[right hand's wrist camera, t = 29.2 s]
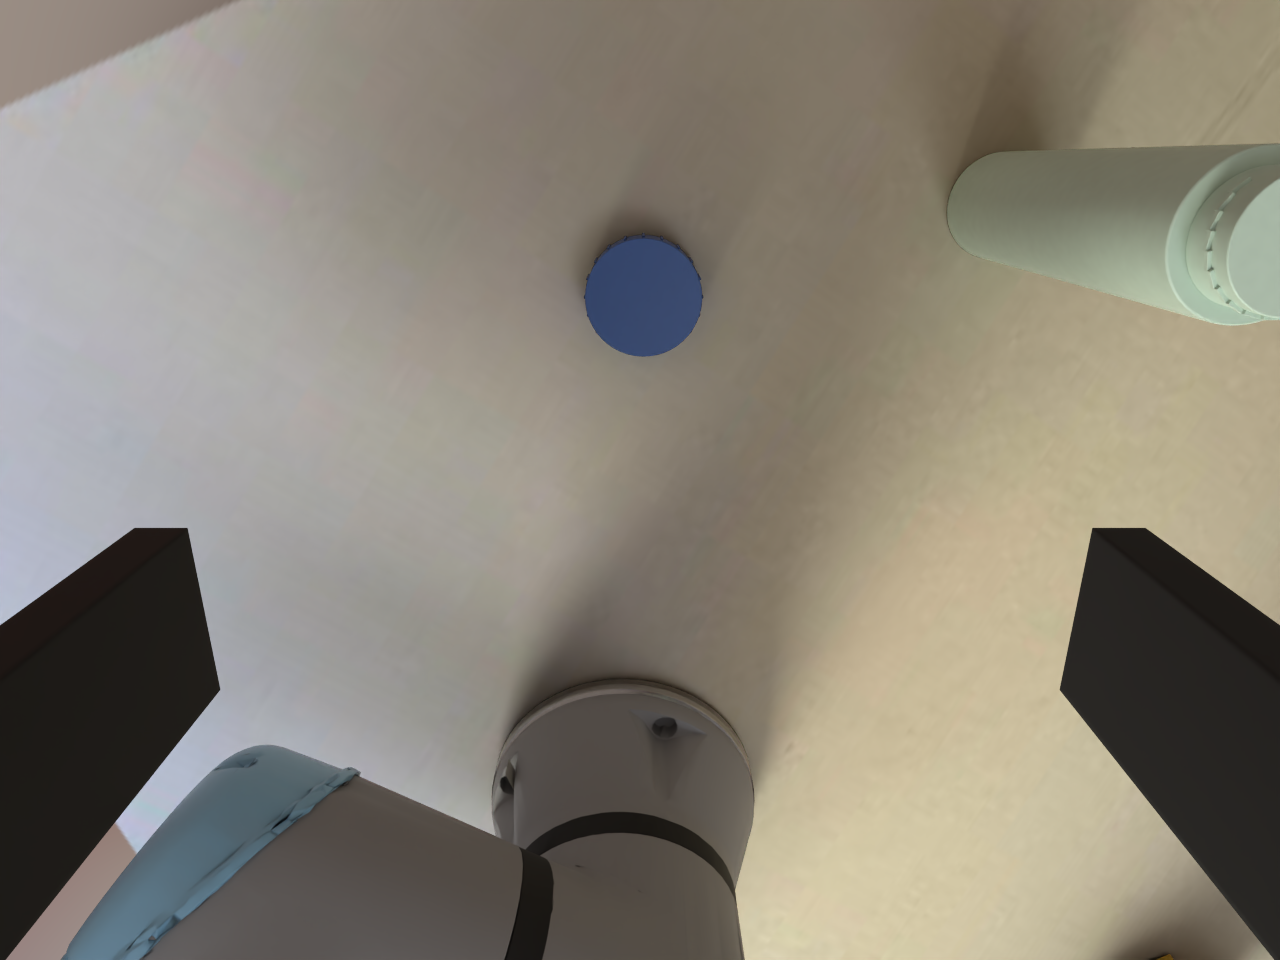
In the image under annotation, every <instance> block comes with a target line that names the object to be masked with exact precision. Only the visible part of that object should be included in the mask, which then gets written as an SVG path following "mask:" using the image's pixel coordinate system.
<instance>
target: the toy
mask: <svg viewBox="0 0 1280 960" xmlns="http://www.w3.org/2000/svg"><path fill="white" fill-rule="evenodd" d="M1156 960H1174V959H1173V958H1172V956H1171V955H1170V954H1168V955H1166V956H1164V957H1161V958H1159V959H1156Z"/></svg>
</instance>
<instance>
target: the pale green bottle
mask: <svg viewBox="0 0 1280 960" xmlns="http://www.w3.org/2000/svg"><path fill="white" fill-rule="evenodd" d="M947 220H948V225H949V229H950V231H951V234H952V236H953V238H954V239H955V241H956V242H957V244H958V245H959V246H960V247H961V248H962V249H964V250H965V251H966V252H968V253H970V254H971V255H974V256H976V257H979V258H983V259H986V260H990V261H994V262H997V263H1001V264H1004V265H1008V266H1011V267H1015V268H1018V269H1022V270H1025V271H1029V272H1033V273H1036V274H1040V275H1043V276H1047V277H1050V278H1054V279H1057V280H1061V281H1065V282H1068V283H1072V284H1075V285H1079V286H1082V287H1086V288H1089V289H1093V290H1097V291H1100V292H1104V293H1107V294H1111V295H1114V296H1118V297H1121V298H1125V299H1129V300H1132V301H1136V302H1139V303H1143V304H1146V305H1150V306H1153V307H1157V308H1160V309H1164V310H1168V311H1171V312H1175V313H1178V314H1182V315H1185V316H1189V317H1192V318H1196V319H1200V320H1203V321H1207V322H1210V323H1215V324H1219V325H1230V326H1235V325H1246V324H1251V323H1256V322H1259V321H1262V320H1280V144H1243V145H1208V146H1174V147H1139V148H1105V149H1070V150H1036V151H1004V152H996V153H992V154H989V155H986V156H984V157H982V158H980V159H978V160H977V161H975V162H974V163H972V164H971V165H970V166H969V167H968V168H967V169H966V170H965V171H964V172H963V173H962V174H961V175H960V177H959V178H958V179H957V181H956V183H955V184H954V186H953V189H952V191H951V194H950V197H949V201H948V206H947Z"/></svg>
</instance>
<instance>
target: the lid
mask: <svg viewBox="0 0 1280 960" xmlns="http://www.w3.org/2000/svg"><path fill="white" fill-rule="evenodd" d="M594 263H595V264H594V266H593V268H592V271H591V273H590V274H588V276H587V279H586V280H588V281H587V285H586V292H585V295H584V299H585V303H586V309H587V316H588V317H589V320H590V322H591V324H592V326H593V328H594V329H595V331H596V333H597V334H598V335H599V336H600V337H601V338H602V339H603V340H604V341H605V342H606V343H607V344H608V345H610V346H611V347H613V348H614V349H616V350H618V351H620V352H623V353H626V354H629V355H633V356H654V355H658V354H662V353H665V352H667V351H669V350H671V349H673V348H674V347H676V346H677V345H679V344H680V343H681V342H682V341H684V339H685V338H686V337H687V336H688V335H689V334H690V333H691V332H692V330H693V328H694V326H695V324H696V323H697V320H698V317H700V311H701V305H702V298H703V295H702V290H701V284H700V280H701V278H700V276H699V274H697V272H696V270H695V268H694V266H693V264H692V263H693V261H692V259H691V258H688V257H687V255H686V254H685V253H684V252H683V251H682V250H681V249H680V247H679V245H678V244H677V245H675V244H673V243H672V242H670V241H668V240H666V239H663V236H660V237H657V236H652V235H645V233H642V235H635V236H630V237H627V236H624V239H621V240H619V241H617V242H615V243H614V244H612V245H610V244H609V245H608V247H607V249H606V250H605V251H604V252H603V253H602V254H601V255H600V257H599V258H596V259H595V261H594Z"/></svg>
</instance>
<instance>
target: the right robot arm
mask: <svg viewBox="0 0 1280 960" xmlns="http://www.w3.org/2000/svg"><path fill="white" fill-rule="evenodd" d="M219 691H220V686H219V681H218V676H217V671H216V666H215V661H214V656H213V652H212V647H211V642H210V637H209V632H208V627H207V622H206V617H205V612H204V607H203V602H202V597H201V592H200V587H199V583H198V578H197V573H196V568H195V563H194V558H193V553H192V548H191V543H190V538H189V533H188V528H134V529H133V530H131V531H130V532H128V533H127V534H126V535H124V536H123V537H122V538H120V539H119V540H117V541H116V542H115V543H113V544H112V545H111V546H109V547H108V548H106V549H105V550H104V551H102V552H101V553H100V554H98V555H97V556H95V557H94V558H93V559H91V560H90V561H88V562H87V563H86V564H84V565H83V566H82V567H80V568H79V569H77V570H76V571H75V572H73V573H72V574H71V575H69V576H68V577H66V578H65V579H64V580H62V581H61V582H59V583H58V584H57V585H55V586H54V587H53V588H51V589H50V590H48V591H47V592H46V593H44V594H43V595H42V596H40V597H39V598H37V599H36V600H35V601H33V602H32V603H30V604H29V605H28V606H26V607H25V608H24V609H22V610H21V611H19V612H18V613H17V614H15V615H14V616H13V617H11V618H10V619H8V620H7V621H6V622H4V623H3V624H1V625H0V960H6V959H7V957H8V956H9V955H10V954H11V952H12V951H13V950H14V948H15V947H16V946H17V945H18V943H19V942H20V941H21V940H22V938H23V937H24V936H25V935H26V933H27V932H28V931H29V930H30V928H31V927H32V926H33V925H34V923H35V922H36V921H37V919H38V918H39V917H40V916H41V915H42V913H43V912H44V911H45V909H46V908H47V907H48V906H49V904H50V903H51V902H52V901H53V899H54V898H55V897H56V896H57V894H58V893H59V892H60V891H61V889H62V888H63V887H64V886H65V884H66V883H67V882H68V881H69V879H70V878H71V877H72V876H73V874H74V873H75V872H76V871H77V869H78V868H79V867H80V865H81V864H82V863H83V862H84V860H85V859H86V858H87V857H88V855H89V854H90V853H91V852H92V850H93V849H94V848H95V847H96V845H97V844H98V843H99V842H100V840H101V839H102V838H103V837H104V835H105V834H106V833H107V832H108V830H109V829H110V828H111V826H112V825H113V824H114V823H115V821H116V820H117V819H118V818H119V816H120V815H121V814H122V813H123V811H124V810H125V809H126V808H127V806H128V805H129V804H130V803H131V801H132V800H133V799H134V798H135V796H136V795H137V794H138V793H139V791H140V790H141V789H142V788H143V786H144V785H145V784H146V782H147V781H148V780H149V779H150V777H151V776H152V775H153V774H154V772H155V771H156V770H157V769H158V767H159V766H160V765H161V764H162V762H163V761H164V760H165V759H166V757H167V756H168V755H169V754H170V752H171V751H172V750H173V749H174V747H175V746H176V745H177V744H178V742H179V741H180V740H181V738H182V737H183V736H184V735H185V733H186V732H187V731H188V730H189V728H190V727H191V726H192V725H193V723H194V722H195V721H196V720H197V718H198V717H199V716H200V715H201V713H202V712H203V711H204V710H205V708H206V707H207V706H208V705H209V703H210V702H211V701H212V700H213V698H214V697H215V696H216V694H217V693H218V692H219ZM1060 691H1061V692H1062V693H1063V694H1064V696H1065V697H1066V698H1067V700H1068V701H1069V702H1070V703H1071V705H1072V706H1073V707H1074V708H1075V710H1076V711H1077V712H1078V713H1079V715H1080V716H1081V717H1082V718H1083V720H1084V721H1085V722H1086V723H1087V725H1088V726H1089V727H1090V728H1091V730H1092V731H1093V732H1094V733H1095V735H1096V736H1097V737H1098V738H1099V740H1100V741H1101V742H1102V744H1103V745H1104V746H1105V747H1106V749H1107V750H1108V751H1109V752H1110V754H1111V755H1112V756H1113V757H1114V759H1115V760H1116V761H1117V762H1118V764H1119V765H1120V766H1121V767H1122V769H1123V770H1124V771H1125V772H1126V774H1127V775H1128V776H1129V777H1130V779H1131V780H1132V781H1133V782H1134V784H1135V785H1136V786H1137V788H1138V789H1139V790H1140V791H1141V793H1142V794H1143V795H1144V796H1145V798H1146V799H1147V800H1148V801H1149V803H1150V804H1151V805H1152V806H1153V808H1154V809H1155V810H1156V811H1157V813H1158V814H1159V815H1160V816H1161V818H1162V819H1163V820H1164V821H1165V823H1166V824H1167V825H1168V827H1169V828H1170V829H1171V830H1172V832H1173V833H1174V834H1175V835H1176V837H1177V838H1178V839H1179V840H1180V842H1181V843H1182V844H1183V845H1184V847H1185V848H1186V849H1187V850H1188V852H1189V853H1190V854H1191V855H1192V857H1193V858H1194V859H1195V860H1196V862H1197V863H1198V864H1199V865H1200V867H1201V868H1202V869H1203V871H1204V872H1205V873H1206V874H1207V876H1208V877H1209V878H1210V879H1211V881H1212V882H1213V883H1214V884H1215V886H1216V887H1217V888H1218V889H1219V891H1220V892H1221V893H1222V894H1223V896H1224V897H1225V898H1226V899H1227V901H1228V902H1229V903H1230V904H1231V906H1232V907H1233V908H1234V909H1235V911H1236V912H1237V913H1238V915H1239V916H1240V917H1241V918H1242V920H1243V921H1244V922H1245V923H1246V925H1247V926H1248V927H1249V928H1250V930H1251V931H1252V932H1253V933H1254V935H1255V936H1256V937H1257V938H1258V940H1259V941H1260V942H1261V943H1262V945H1263V946H1264V947H1265V948H1266V950H1267V951H1268V952H1269V954H1270V955H1271V956H1272V957H1273V959H1274V960H1280V625H1279V624H1277V623H1276V622H1274V621H1273V620H1272V619H1270V618H1269V617H1267V616H1266V615H1265V614H1263V613H1262V612H1261V611H1259V610H1258V609H1256V608H1255V607H1254V606H1252V605H1251V604H1250V603H1248V602H1247V601H1245V600H1244V599H1243V598H1241V597H1240V596H1238V595H1237V594H1236V593H1234V592H1233V591H1232V590H1230V589H1229V588H1227V587H1226V586H1225V585H1223V584H1222V583H1221V582H1219V581H1218V580H1216V579H1215V578H1214V577H1212V576H1211V575H1209V574H1208V573H1207V572H1205V571H1204V570H1203V569H1201V568H1200V567H1198V566H1197V565H1196V564H1194V563H1193V562H1192V561H1190V560H1189V559H1187V558H1186V557H1185V556H1183V555H1182V554H1180V553H1179V552H1178V551H1176V550H1175V549H1174V548H1172V547H1171V546H1169V545H1168V544H1167V543H1165V542H1164V541H1163V540H1161V539H1160V538H1158V537H1157V536H1156V535H1154V534H1153V533H1152V532H1150V531H1149V530H1147V529H1146V528H1092V533H1091V538H1090V543H1089V548H1088V553H1087V558H1086V563H1085V568H1084V573H1083V578H1082V583H1081V587H1080V592H1079V597H1078V602H1077V607H1076V612H1075V617H1074V622H1073V627H1072V632H1071V637H1070V642H1069V647H1068V652H1067V656H1066V661H1065V666H1064V671H1063V676H1062V681H1061V686H1060ZM360 773H361V772H359V771H358V770H356V769H354V768H351V767H348V768H345V769H343V770H342V769H340V768H337V767H334V766H332V765H329V764H326V763H324V762H321V761H318V760H316V759H313V758H310V757H308V756H305V755H302V754H300V753H297V752H294V751H292V750H289V749H286V748H283V747H279V746H274V745H259V746H254V747H250V748H247V749H245V750H242V751H240V752H238V753H236V754H234V755H232V756H231V757H229V758H227V759H226V760H224V761H223V762H222V763H221V764H219V765H218V766H217V767H216V768H215V769H213V770H212V771H211V772H210V773H209V774H208V775H207V776H206V777H205V778H204V779H203V780H202V781H201V782H200V783H199V784H198V785H197V786H196V787H195V788H194V789H193V790H192V791H191V792H190V793H189V794H188V795H187V796H186V798H185V799H184V800H183V801H182V802H181V803H180V804H179V805H178V806H177V807H176V808H175V810H174V811H173V812H172V813H171V814H170V815H169V817H168V818H167V819H166V820H165V821H164V822H163V824H162V825H161V826H160V827H159V828H158V829H157V831H156V832H155V833H154V834H153V835H152V836H151V838H150V839H149V840H148V841H147V842H146V844H145V845H144V846H143V847H142V849H141V850H140V851H139V852H138V853H137V855H136V856H135V857H134V858H133V860H132V861H131V862H130V863H129V865H128V866H127V867H126V869H125V870H124V871H123V872H122V873H121V875H120V876H119V877H118V879H117V880H116V881H115V883H114V884H113V885H112V886H111V888H110V889H109V890H108V892H107V893H106V894H105V896H104V897H103V898H102V899H101V901H100V902H99V903H98V905H97V906H96V908H95V909H94V910H93V912H92V913H91V914H90V916H89V917H88V918H87V920H86V921H85V922H84V924H83V926H82V927H81V928H80V930H79V931H78V933H77V934H76V935H75V937H74V938H73V940H72V941H71V943H70V944H69V947H68V949H67V953H66V954H65V955H64V956H63V957H62V959H61V960H745V959H744V952H743V945H742V938H741V931H740V924H739V917H738V910H737V903H736V895H735V888H736V884H737V881H738V877H739V873H740V870H741V866H742V862H743V858H744V854H745V851H746V847H747V843H748V839H749V836H750V832H751V828H752V823H753V814H754V788H753V782H752V776H751V771H750V765H749V761H748V758H747V755H746V752H745V750H744V748H743V745H742V743H741V742H740V740H739V738H738V736H737V735H736V733H735V732H734V731H733V729H732V728H731V726H730V725H729V724H728V723H727V722H726V721H725V720H724V719H723V718H722V717H721V716H720V715H719V714H718V713H717V712H716V711H715V710H714V709H712V708H711V707H709V706H708V705H707V704H705V703H704V702H702V701H701V700H699V699H697V698H696V697H694V696H692V695H690V694H688V693H686V692H684V691H681V690H679V689H676V688H673V687H671V686H667V685H663V684H660V683H656V682H650V681H645V680H635V679H611V680H601V681H595V682H590V683H586V684H582V685H578V686H575V687H572V688H569V689H567V690H564V691H562V692H560V693H557V694H555V695H554V696H552V697H550V698H548V699H546V700H545V701H543V702H542V703H540V704H539V705H537V706H536V707H535V708H534V709H532V710H531V711H530V712H529V713H528V714H526V715H525V716H524V718H523V719H522V720H521V721H520V722H519V723H518V724H517V725H516V727H515V728H514V729H513V730H512V732H511V733H510V735H509V737H508V738H507V740H506V742H505V744H504V746H503V748H502V751H501V753H500V757H499V760H498V763H497V768H496V772H495V776H494V781H493V787H492V818H493V824H494V829H495V834H496V836H494V835H492V834H489V833H487V832H485V831H482V830H480V829H478V828H476V827H473V826H471V825H469V824H466V823H464V822H462V821H460V820H457V819H455V818H453V817H450V816H448V815H446V814H444V813H441V812H439V811H437V810H434V809H432V808H430V807H428V806H425V805H423V804H421V803H418V802H416V801H414V800H412V799H409V798H407V797H405V796H402V795H400V794H398V793H396V792H393V791H391V790H389V789H386V788H384V787H382V786H380V785H377V784H375V783H373V782H371V781H368V780H366V779H364V778H361V777H359V776H360Z"/></svg>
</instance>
